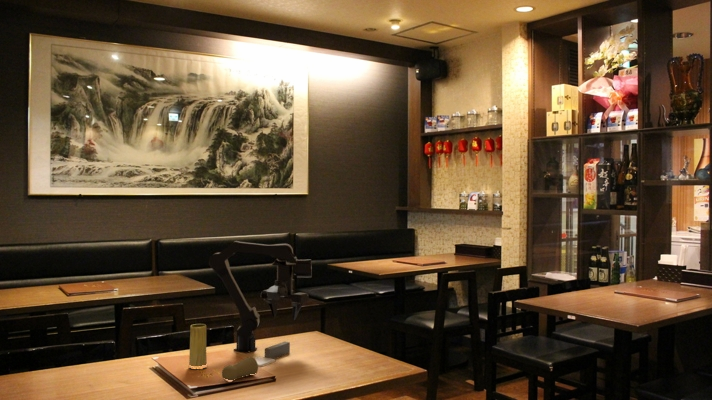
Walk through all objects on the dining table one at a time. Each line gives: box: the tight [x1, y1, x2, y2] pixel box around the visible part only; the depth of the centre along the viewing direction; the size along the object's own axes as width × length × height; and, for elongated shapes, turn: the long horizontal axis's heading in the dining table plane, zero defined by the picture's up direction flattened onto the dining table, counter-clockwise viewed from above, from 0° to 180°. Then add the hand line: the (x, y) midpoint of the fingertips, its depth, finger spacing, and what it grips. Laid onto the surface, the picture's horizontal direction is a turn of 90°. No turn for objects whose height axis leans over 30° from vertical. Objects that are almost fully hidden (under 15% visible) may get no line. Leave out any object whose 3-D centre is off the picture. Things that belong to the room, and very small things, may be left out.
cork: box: [221, 356, 259, 381], centre depth 189 cm, size 6×6×11 cm
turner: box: [253, 341, 291, 368], centre depth 214 cm, size 7×20×4 cm, turn 151°
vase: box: [188, 323, 208, 366], centre depth 201 cm, size 6×6×14 cm
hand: (284, 318), depth 225 cm, fingers open, 9 cm apart
